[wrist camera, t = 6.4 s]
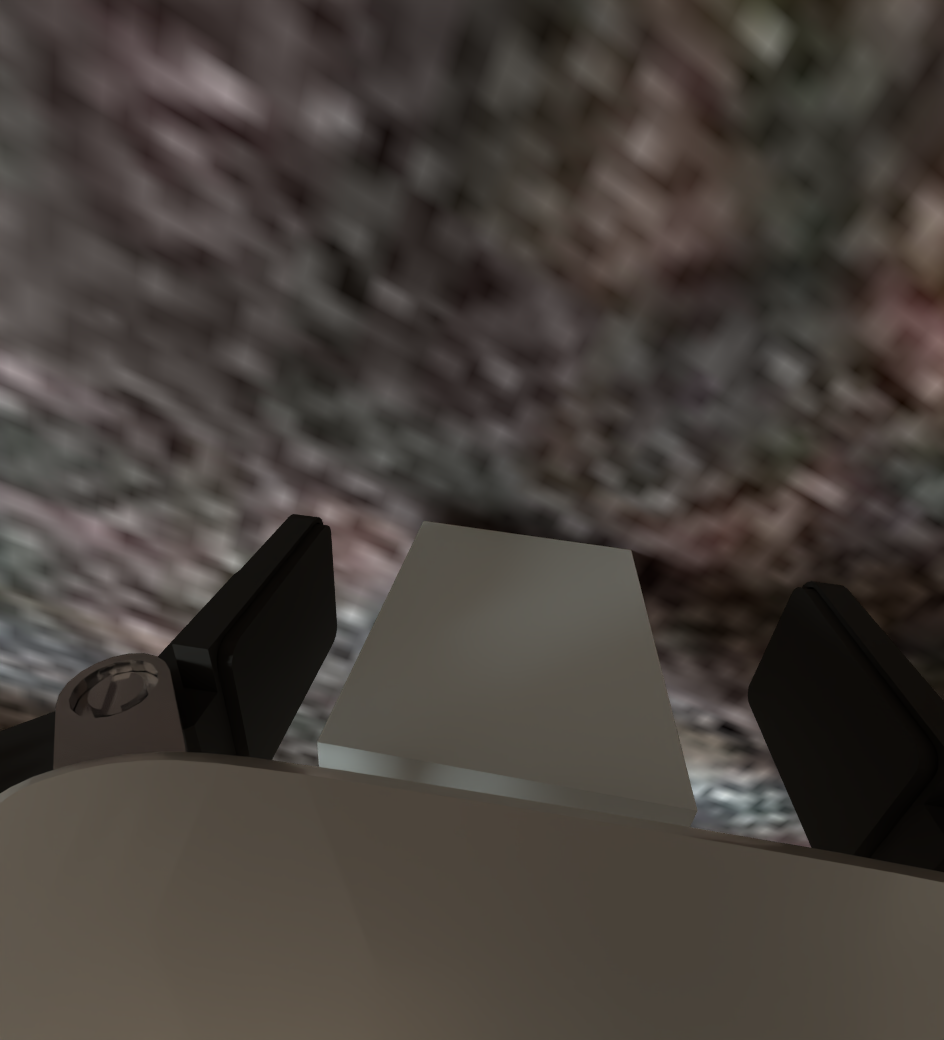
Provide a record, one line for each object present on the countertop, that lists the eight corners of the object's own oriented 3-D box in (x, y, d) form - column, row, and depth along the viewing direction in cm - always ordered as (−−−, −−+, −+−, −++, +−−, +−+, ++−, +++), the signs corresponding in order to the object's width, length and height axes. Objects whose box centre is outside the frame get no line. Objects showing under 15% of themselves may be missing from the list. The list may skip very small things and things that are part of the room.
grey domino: (423, 521, 13) (316, 742, 7) (630, 550, 12) (697, 810, 7) (421, 575, 13) (323, 815, 8) (616, 604, 13) (665, 881, 7)
